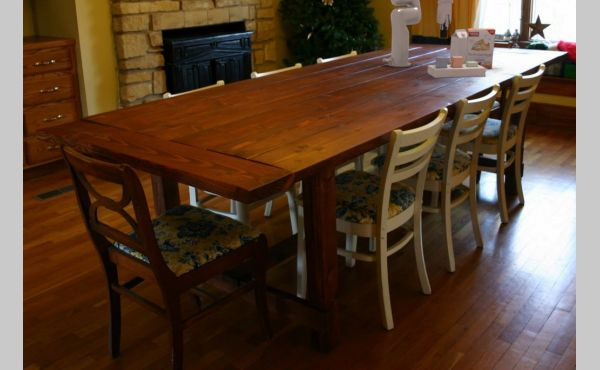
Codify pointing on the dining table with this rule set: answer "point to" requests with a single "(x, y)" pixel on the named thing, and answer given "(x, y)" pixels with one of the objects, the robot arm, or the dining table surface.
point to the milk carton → (459, 44)
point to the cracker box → (480, 46)
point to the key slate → (441, 62)
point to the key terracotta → (456, 61)
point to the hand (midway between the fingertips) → (443, 37)
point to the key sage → (471, 64)
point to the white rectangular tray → (456, 71)
